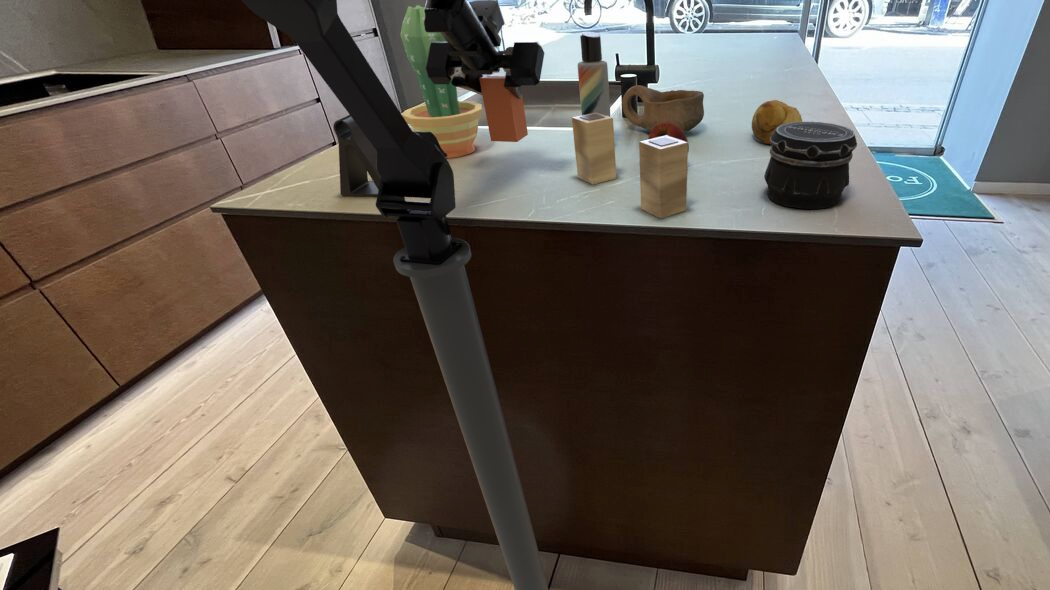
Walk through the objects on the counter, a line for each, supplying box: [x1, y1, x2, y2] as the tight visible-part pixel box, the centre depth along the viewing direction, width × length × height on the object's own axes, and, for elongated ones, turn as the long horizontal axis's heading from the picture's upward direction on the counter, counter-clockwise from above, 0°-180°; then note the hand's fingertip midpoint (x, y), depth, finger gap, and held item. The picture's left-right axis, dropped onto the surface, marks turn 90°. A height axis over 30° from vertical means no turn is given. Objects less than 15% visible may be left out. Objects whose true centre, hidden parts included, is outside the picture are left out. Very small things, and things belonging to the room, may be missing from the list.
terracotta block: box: [479, 72, 529, 143], centre depth 91 cm, size 5×5×10 cm
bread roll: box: [751, 99, 803, 145], centre depth 107 cm, size 13×10×8 cm
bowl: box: [621, 84, 705, 133], centre depth 113 cm, size 18×14×10 cm
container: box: [763, 121, 858, 210], centre depth 80 cm, size 13×13×10 cm
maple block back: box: [571, 113, 617, 186], centre depth 90 cm, size 5×5×10 cm
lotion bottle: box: [577, 31, 611, 117], centre depth 103 cm, size 6×6×20 cm
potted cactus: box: [399, 4, 483, 159], centre depth 101 cm, size 15×15×25 cm
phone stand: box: [333, 114, 381, 197], centre depth 88 cm, size 9×6×12 cm, turn 84°
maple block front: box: [638, 135, 689, 220], centre depth 78 cm, size 5×5×10 cm
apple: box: [647, 122, 690, 152], centre depth 94 cm, size 7×8×8 cm
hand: (506, 96), depth 92 cm, fingers closed on terracotta block, 5 cm apart
